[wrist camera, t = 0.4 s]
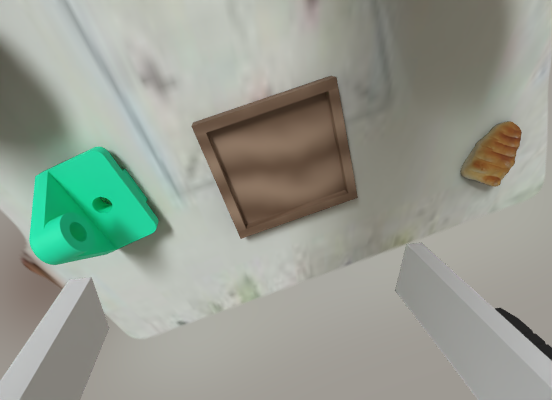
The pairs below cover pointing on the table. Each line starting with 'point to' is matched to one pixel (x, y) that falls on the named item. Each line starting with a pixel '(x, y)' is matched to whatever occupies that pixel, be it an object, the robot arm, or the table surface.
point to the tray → (280, 156)
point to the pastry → (493, 155)
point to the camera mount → (87, 209)
